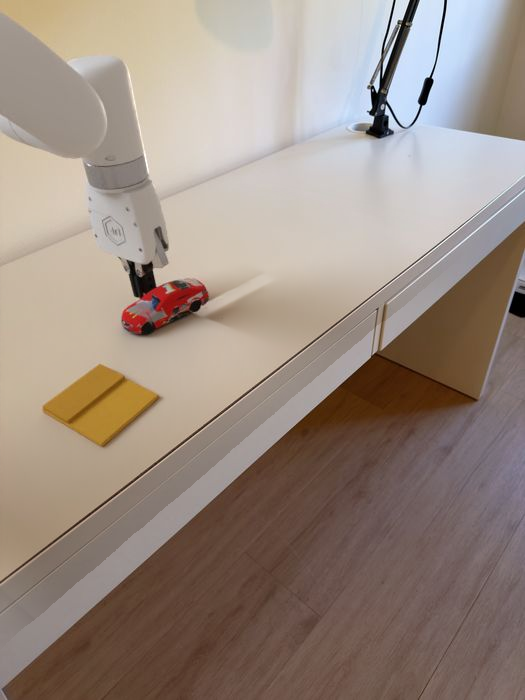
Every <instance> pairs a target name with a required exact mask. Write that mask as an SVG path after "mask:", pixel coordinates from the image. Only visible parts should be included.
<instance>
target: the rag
mask: <svg viewBox="0 0 525 700" xmlns="http://www.w3.org/2000/svg"><path fill="white" fill-rule="evenodd" d="M159 398H160V396H159V394H158V393H156V392H154V391H152V390H150V389H148V388H146V387H144V386H142V385H140V384H139V383H136V382H134V381H132V380H130V379H128V378H126V376H125V375H124V374H121V373H120V372H118V371H115V370H113V369H111V368H109V367H108V366H106V365H104V364H101V363H99V364H97V365H96V366H95V367H93V368H92V369H90V370H89V371H88V372H87V373H85V374H84V375H82V376H81V377H79V378H78V379H77V380H76V381H74V382H73V383H72V384H70V385H69V386H67V387H66V388H65V389H63V390H62V391H61V392H59V393H58V394H56V395H55V396H54V397H53V398H51V399H50V400H48V401H47V402H46V403H44V404H43V405H42V408H41V411H42V412H43V413H45V415H47V416H49V417H51V418H52V419H54V420H56V421H58V422H59V423H61V424H62V425H64V426H66V427H67V428H69V429H70V430H73V431H74V432H76V433H78V434H79V435H80V436H82V437H84V438H85V439H87V440H89V441H91V442H92V443H94V444H96V445H97V446H99V447H101V448H102V447H104V446H105V445H106V444H107V443H108V442H109V441H111V440H112V439H113V438H114V437H115V436H116V435H118V434H119V433H120V432H121V431H123V429H125V428H126V427H127V426H128V425H129V424H130V423H131V422H132V421H134V420H135V419H136V418H137V417H139V416H140V414H141V413H143V412H144V411H145V410H146V409H147V408H149V407H150V406H151V405H152V404H154V402H155V401H156V400H158V399H159Z"/></svg>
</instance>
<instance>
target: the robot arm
mask: <svg viewBox="0 0 525 700" xmlns="http://www.w3.org/2000/svg"><path fill="white" fill-rule="evenodd" d="M136 104H137V103H136V99H135V95H134V89H133V84H132V79H131V74H130V70H129V67H128V65H127V64H126V62H125V61H124V60H123V59H122V58H120V57H118V56H114V55H109V54H98V55H88V56H82V57H77V58H74V59H71V60H69V61H67V62H66V61H65V60H64V59H63V58H62V57H61V56H60V55H58V53H56V52H55V51H54V50H52V48H50V47H49V46H48V45H47V44H45V42H43V41H42V40H41V39H39V38H38V37H37V36H36V35H34V34H33V33H32V32H30V31H29V30H27V29H26V28H25V27H24V26H22V25H21V24H20V23H18V22H17V21H15V20H13V19H12V18H10V17H9V16H8V15H7V14H5V13H3V12H2V11H0V132H1V134H3V135H5V136H6V137H8V138H9V139H12V140H13V141H16V142H18V143H21V144H24V145H27V146H29V147H32V148H35V149H39V150H42V151H44V152H48V153H50V154H52V155H55V156H58V157H61V158H65V159H72V160H75V159H81V160H82V163H83V167H84V171H85V175H86V178H87V179H86V181H85V193H86V195H85V196H86V203H87V204H86V205H87V210H88V215H89V220H90V225H91V229H92V233H93V237H94V240H95V243H96V246H97V248H98V249H99V250H101V251H102V252H104V253H107V254H109V255H112V256H115V257H117V258H119V261H120V262H121V264H122V268H123V269H124V271H125V272H126V273H128V279H129V282H130V287H131V290H132V294H133V297H135V298H138V299H139V300H140V299H142V298H143V297H144V296H143V293H145V294H147V293H148V292H150V291H151V290H153V289H154V288H156V287H157V282H156V278H155V274H154V269H163V268H165V267H166V266H168V265H169V260H168V256H167V254H166V252H168V251H169V249H170V242H169V241H170V239H169V235H168V230H167V229H168V227H167V223H166V219H165V215H164V211H163V208H162V205H161V202H160V199H159V196H158V193H157V190H156V186H155V185H154V183H153V180H151V179H150V178H151V176H150V172H149V167H148V161H147V156H146V151H145V146H144V140H143V136H142V131H141V125H140V121H139V116H138V115H139V114H138V110H137V105H136Z"/></svg>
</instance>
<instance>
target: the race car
mask: <svg viewBox="0 0 525 700" xmlns="http://www.w3.org/2000/svg"><path fill="white" fill-rule="evenodd" d="M143 296H144V297H143V298H142V299H140V298H139V299H138V300H137V301H135V302H133V303H131V304H130V305H128V306H127V307H125V308H124V309H123V311H122V313H121V318H120V319H121V320H120V323H121V325H122V328H123V329H124V330H126V331H127V332H130V333H132V334H136V335H137V334H139V335H140V334H143V335H150V334H151V333H153V331H154V330H155V329H158V328H160V327H162V326H164V325H167V324H169V323H170V322H173V321H176V320H178V319H179V318H181V317H184V316H186V315H188V314H190V313H191V312H192V313H198V311H200V310H201V307H204V306H205V305H206V304H207V303H208V302H209V300H210V296H209V291H208V290H207V288H206V286H205V284H204V283H203V282H201V281H200V280H199V279H197V278H195V277H194V278H193V277H191V278H190V277H189V278H183V279H181V278H180V279H175V280H171V281H168V282H165V283H163V284H160V285H158V286H156V288H154V289H153V290H151V291H150V292H148V293H147V294H145V293H143Z"/></svg>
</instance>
